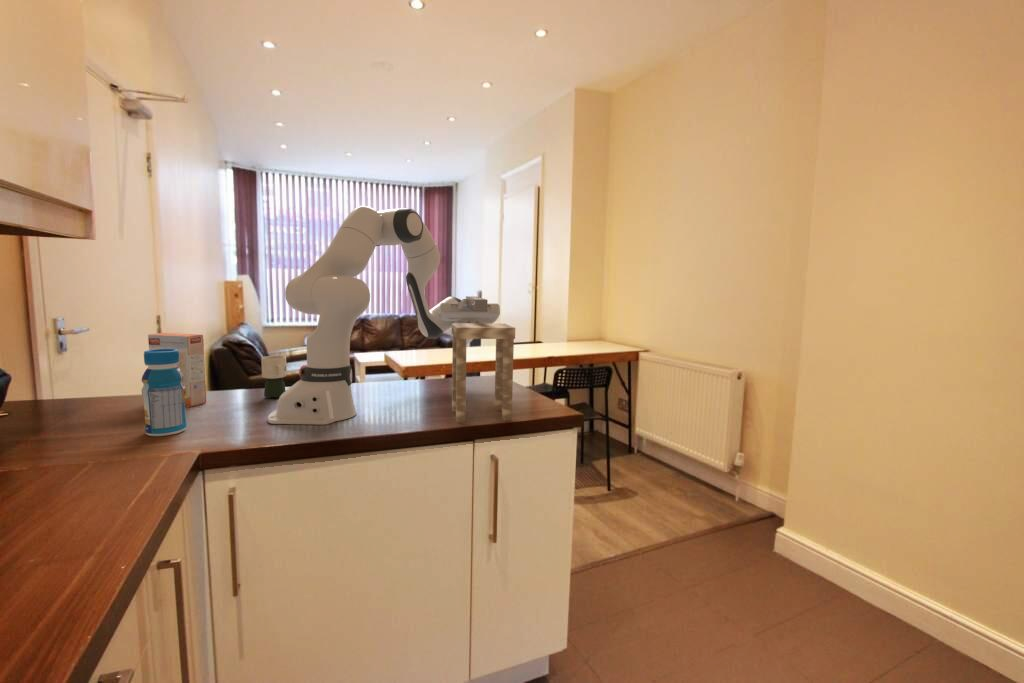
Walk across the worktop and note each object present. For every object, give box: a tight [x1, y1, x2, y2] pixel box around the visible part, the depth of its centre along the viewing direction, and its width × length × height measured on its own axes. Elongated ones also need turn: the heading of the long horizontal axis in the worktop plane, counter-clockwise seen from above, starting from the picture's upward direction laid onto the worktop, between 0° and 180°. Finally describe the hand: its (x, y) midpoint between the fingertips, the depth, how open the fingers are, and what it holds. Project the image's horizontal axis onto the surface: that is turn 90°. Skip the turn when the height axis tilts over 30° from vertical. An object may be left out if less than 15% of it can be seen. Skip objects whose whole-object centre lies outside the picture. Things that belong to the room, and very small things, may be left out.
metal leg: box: [465, 295, 488, 312], centre depth 147 cm, size 4×22×4 cm, turn 13°
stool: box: [451, 323, 516, 424], centre depth 135 cm, size 16×14×26 cm
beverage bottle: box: [141, 349, 187, 437], centre depth 114 cm, size 8×8×20 cm
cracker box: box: [147, 332, 207, 408], centre depth 140 cm, size 14×6×21 cm, turn 77°
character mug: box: [260, 355, 288, 399], centre depth 151 cm, size 11×7×13 cm, turn 44°
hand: (472, 300), depth 154 cm, fingers closed on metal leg, 3 cm apart
